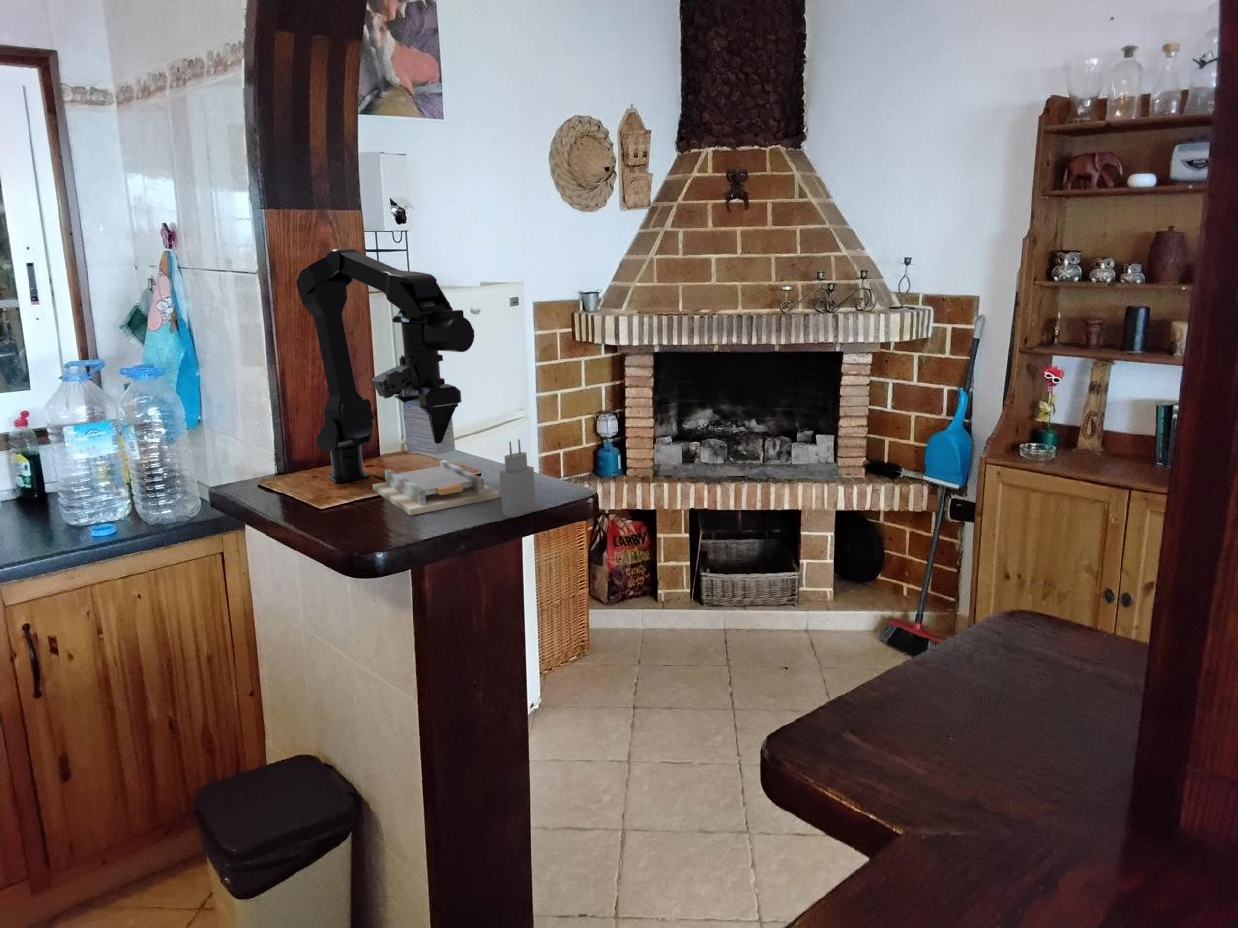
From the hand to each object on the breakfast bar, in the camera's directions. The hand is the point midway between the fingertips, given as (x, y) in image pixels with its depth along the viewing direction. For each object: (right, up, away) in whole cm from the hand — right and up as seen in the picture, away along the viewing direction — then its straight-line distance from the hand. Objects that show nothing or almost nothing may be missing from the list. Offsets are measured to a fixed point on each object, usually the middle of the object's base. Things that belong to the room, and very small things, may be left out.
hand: (428, 438), depth 161 cm
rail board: (+1, -10, +2) cm, 10 cm away
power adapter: (+17, -12, -11) cm, 24 cm away
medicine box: (0, -2, +1) cm, 2 cm away
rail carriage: (+1, -8, +1) cm, 8 cm away
